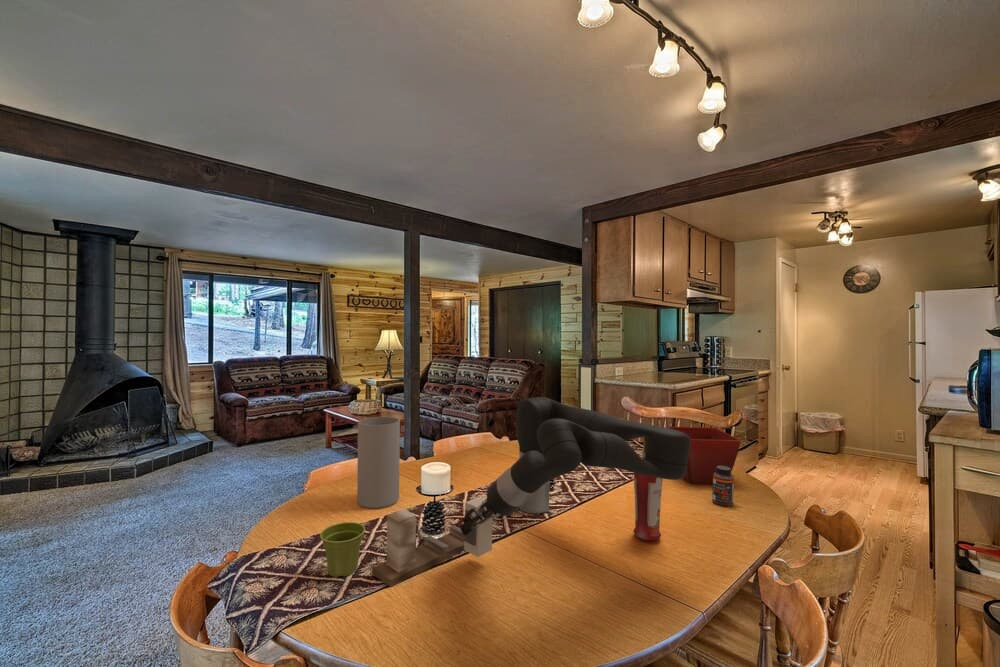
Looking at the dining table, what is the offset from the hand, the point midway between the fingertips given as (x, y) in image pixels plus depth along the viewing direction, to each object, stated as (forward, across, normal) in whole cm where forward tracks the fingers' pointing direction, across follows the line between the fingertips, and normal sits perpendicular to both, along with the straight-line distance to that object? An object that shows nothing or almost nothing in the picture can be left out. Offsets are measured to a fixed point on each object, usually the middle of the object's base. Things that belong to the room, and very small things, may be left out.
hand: (472, 526), depth 102 cm
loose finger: (+2, 0, -5) cm, 5 cm away
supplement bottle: (-18, +78, -29) cm, 85 cm away
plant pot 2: (-9, +98, -20) cm, 100 cm away
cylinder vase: (+39, +5, +26) cm, 47 cm away
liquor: (-12, +39, -24) cm, 47 cm away
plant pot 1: (+19, -22, +7) cm, 30 cm away
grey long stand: (+12, -7, 0) cm, 13 cm away
